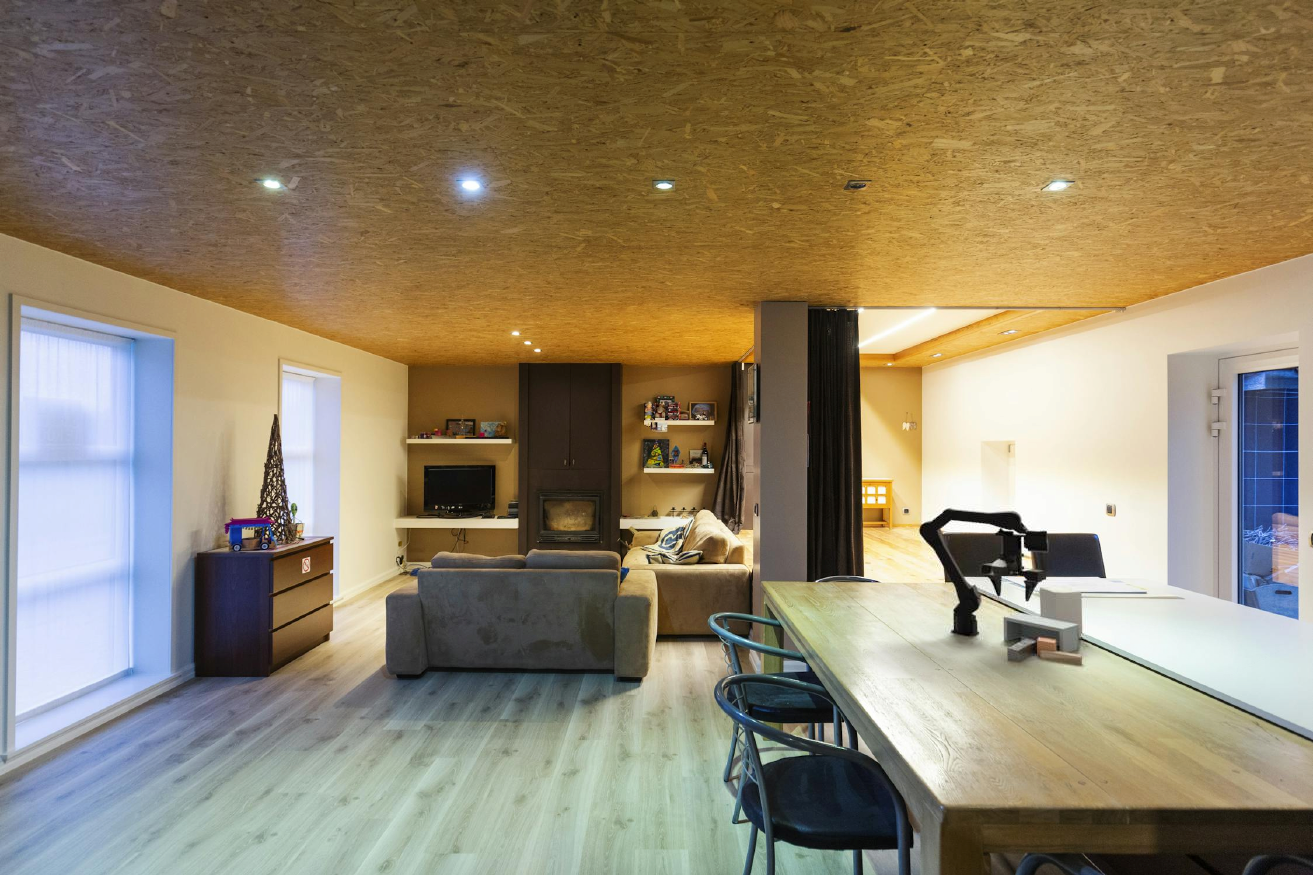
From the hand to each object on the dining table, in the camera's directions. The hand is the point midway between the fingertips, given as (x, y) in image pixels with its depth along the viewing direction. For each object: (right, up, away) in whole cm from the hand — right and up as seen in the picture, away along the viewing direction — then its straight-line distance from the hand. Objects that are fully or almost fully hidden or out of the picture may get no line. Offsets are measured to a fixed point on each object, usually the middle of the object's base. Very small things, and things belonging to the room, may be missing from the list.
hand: (1012, 598), depth 213 cm
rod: (+2, -13, -22) cm, 26 cm away
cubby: (+5, -13, -7) cm, 15 cm away
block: (+1, -13, -17) cm, 21 cm away
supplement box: (+18, -13, +4) cm, 23 cm away
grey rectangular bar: (-6, -13, -17) cm, 22 cm away
